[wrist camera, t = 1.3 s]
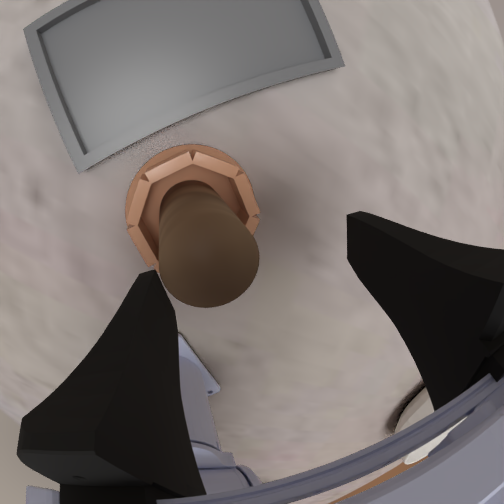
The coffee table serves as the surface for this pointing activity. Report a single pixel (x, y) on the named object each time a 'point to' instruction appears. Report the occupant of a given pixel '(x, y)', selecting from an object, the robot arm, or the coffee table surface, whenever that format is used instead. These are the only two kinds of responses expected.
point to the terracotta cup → (177, 170)
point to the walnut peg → (203, 247)
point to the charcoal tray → (166, 62)
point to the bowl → (413, 414)
